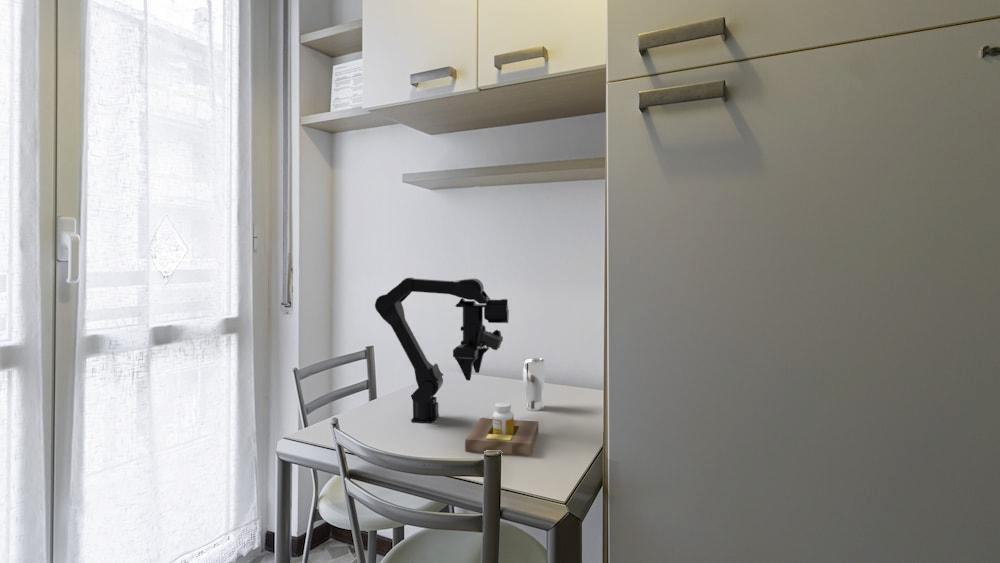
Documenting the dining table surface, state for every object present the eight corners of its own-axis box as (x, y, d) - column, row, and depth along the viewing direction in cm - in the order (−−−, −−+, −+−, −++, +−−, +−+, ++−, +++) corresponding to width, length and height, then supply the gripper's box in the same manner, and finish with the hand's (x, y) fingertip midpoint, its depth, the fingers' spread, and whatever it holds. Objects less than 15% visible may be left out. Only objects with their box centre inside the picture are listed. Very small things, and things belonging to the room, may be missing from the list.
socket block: (465, 451, 123) (465, 438, 123) (480, 428, 139) (480, 416, 139) (530, 455, 120) (530, 442, 120) (538, 432, 136) (538, 420, 135)
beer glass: (527, 412, 153) (526, 363, 152) (520, 405, 159) (519, 358, 158) (548, 410, 155) (548, 361, 154) (540, 403, 161) (540, 357, 160)
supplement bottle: (513, 437, 132) (512, 400, 132) (514, 445, 127) (514, 407, 126) (492, 437, 132) (492, 401, 132) (493, 445, 127) (492, 407, 126)
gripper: (492, 328, 133) (492, 386, 134) (507, 319, 151) (507, 370, 152) (452, 327, 136) (452, 384, 137) (471, 318, 154) (471, 368, 155)
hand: (472, 376), depth 145 cm, fingers open, 9 cm apart
